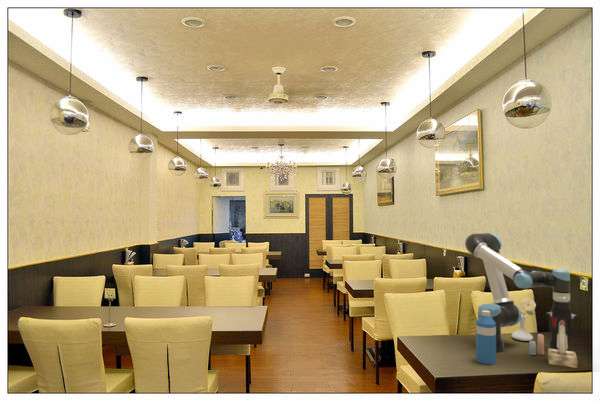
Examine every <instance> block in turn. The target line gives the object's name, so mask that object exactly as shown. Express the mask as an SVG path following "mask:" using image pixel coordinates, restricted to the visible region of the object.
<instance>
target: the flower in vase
mask: <svg viewBox="0 0 600 401" xmlns="http://www.w3.org/2000/svg"><path fill="white" fill-rule="evenodd" d="M520 306H521V307H522V310H525V312H522V311H521V320H520V321H519V328H518V329H517V330H515V331H514V332H513V333H511V337H512V338H513V339H515V340H518V341H523V342H528V341H533V339H534V336H533V335H532V334H531V333H530V332H528V330H527V329H526V328H525V323H526V319H527V317H528V316H534V315H535V313H534V312H533V311H534V310H535V309H536V308H537V307H536V306H537V303H536V302H535V301H534V299H531V298H529V297H525V298H523V299H521V302H520ZM525 314H527V315H528V316H526V315H525Z"/></svg>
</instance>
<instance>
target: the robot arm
mask: <svg viewBox="0 0 600 401" xmlns="http://www.w3.org/2000/svg"><path fill="white" fill-rule="evenodd" d="M464 244H465V249H466V250H467V251H468V253H470V254H471V255H472V256H474V257H475V258H479V259H480V260H482V262H483V266H484V269H485V272H486V277H487V280H488V285H489V288H490V291H491V295H492V299H493V301H492V303H483V304H481V305H479V306H478V309H477V310H478V311H477V319H478V318H479V317H480V316H481V311H483V310H484V311H490V316H491V317H492V319H493V320H494V322H495V323H496V353H499V352H500V353H501V352H505V348H506V347H505V343H504V340H503V337H502V328H507V327H513V326H516V325H517V324H520V320H521V315H522V313H521V312H522V311H521V309H520V307H519V306H518V305H516V304H515V302H514V300H513V298H510V294H509V292H508V288H507V285H506V284H507V283H506V280H505V277H504V275H505V276H506V277H508V278H509V279H511V280H513V283H514V285H515V286H516V287H517V288H519V289H530V288H539V287H547V288H552V300H553V301H552V306H553V310H552V312H550V311H549V312H548V311H547V312H546V315H547V318H548V323H549V324H548V325H549V332H550V334H551V333H554V340H555V341H557V348H559V334H557V331H558V325H559V320H561V319H562V320H564V321H565V327H566V332H567V335H565V341H566V349H567V343H570V342H571V336H574V335H575V331H576V330H575V327H576V321H577V318H578V315H577V314H573V313H572V311H571V274H570V271H568V270H567V269H553V270H552V272H548V271H541V270H532V271H531V272H528V271H527V270H525V269H523V268H522V267H520V266H519V265H518V264H516V263H514V262H512V261H511V260H509V259H508V258H506V257H505V256H503V255H501V252H500V251H501V248H502V241H501V239H500V238H499V236H498V235H496V234H494V233H490V232H489V233H488V232H485V233H471V234H470V235H468V236H467V237H466V239H465V241H464ZM552 314H554V316H555V317H556V323H555V329H554V330H553V327H552V319H551V316H552ZM569 318H571V327H569V323H568V319H569ZM569 328H570V329H569ZM474 347H475V348H476V339H475V341H474ZM567 350H568V349H567Z"/></svg>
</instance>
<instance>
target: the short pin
mask: <svg viewBox="0 0 600 401" xmlns="http://www.w3.org/2000/svg"><path fill="white" fill-rule="evenodd" d="M528 343H529V344H528V349H529V350H528V352H529V354H530V355H529V356H531V355H536V354H537V350H536V349H537V346H536V344H537V342H536V340H535V341H534V340H529V342H528Z"/></svg>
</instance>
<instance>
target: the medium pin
mask: <svg viewBox="0 0 600 401" xmlns="http://www.w3.org/2000/svg"><path fill="white" fill-rule="evenodd" d="M540 354H541V355H540ZM537 355H540V356H544V355H545V334H541V333H538V334H537Z"/></svg>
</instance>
